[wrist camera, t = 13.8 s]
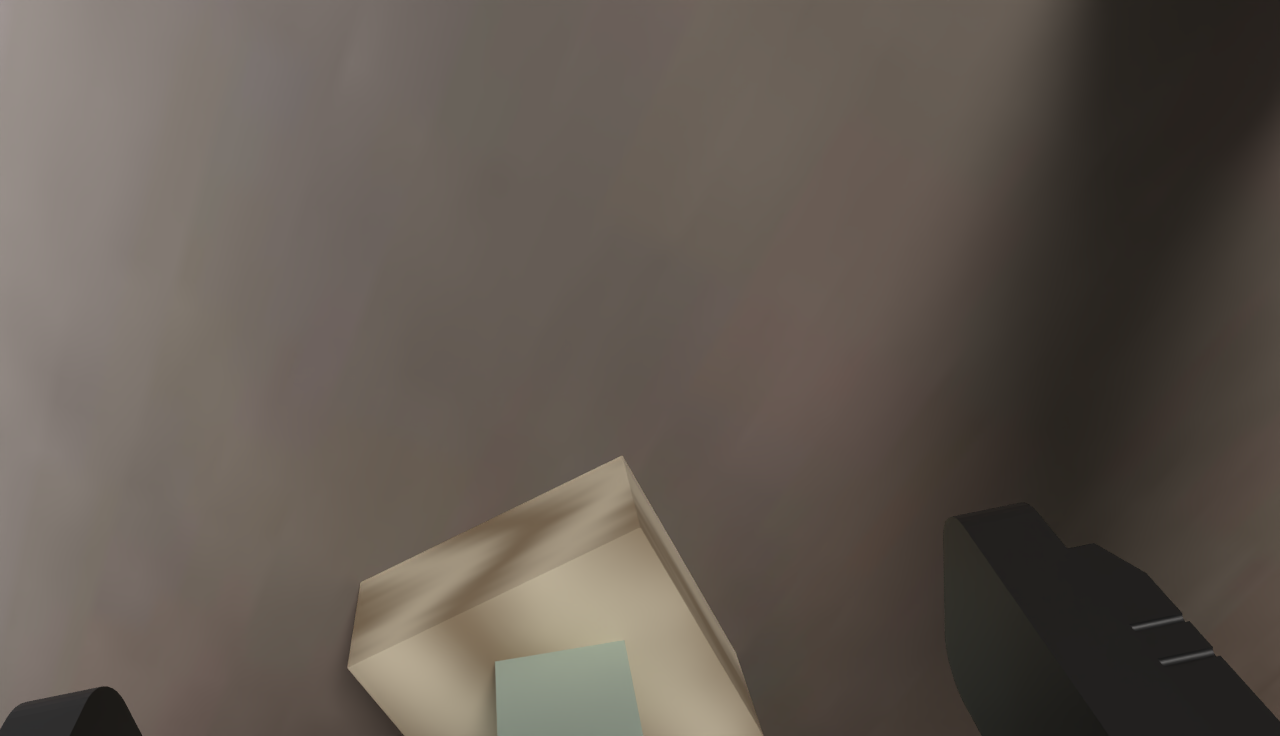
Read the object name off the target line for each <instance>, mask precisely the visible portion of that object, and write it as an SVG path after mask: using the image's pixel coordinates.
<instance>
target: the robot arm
mask: <svg viewBox="0 0 1280 736" xmlns="http://www.w3.org/2000/svg"><path fill="white" fill-rule="evenodd" d="M943 549H944V608H945V642H946V649H947V655H948V659H949V664H950V667H951V671H952V674H953V677H954V681H955V683H956V686H957V689H958V691H959V694H960V696H961V698H962V700H963V702H964V704H965V706H966V708H967V710H968V711H969V713H970V715H971V717H972V719H973V720H974V722H975V724H976V726H977V728H978V730H979V731H980V733H981V735H982V736H1280V721H1279V720H1278V719H1277V718H1276V717H1275V716H1274V715H1273V713H1272V712H1271V711H1270V710H1269V709H1268V708H1267V707H1266V706H1265V705H1264V703H1263V702H1262V701H1261V700H1260V699H1259V698H1258V697H1257V696H1256V695H1255V693H1254V692H1253V691H1252V690H1251V689H1250V688H1249V687H1248V686H1247V685H1246V684H1245V682H1244V681H1243V680H1242V679H1241V678H1240V677H1239V676H1238V675H1237V674H1236V672H1235V671H1234V670H1233V669H1232V668H1231V667H1230V666H1229V665H1228V664H1227V662H1226V661H1225V660H1224V659H1223V658H1222V657H1221V656H1217V657H1216V656H1215V654H1214V652H1213V647H1212V646H1211V645H1210V644H1209V642H1208V641H1207V640H1206V639H1205V638H1204V637H1203V636H1202V635H1201V634H1200V632H1199V631H1198V630H1197V629H1196V628H1195V627H1194V626H1193V625H1192V624H1191V622H1190V621H1188V622H1185V621H1184V619H1183V617H1182V613H1181V611H1180V610H1179V609H1178V608H1177V607H1176V606H1175V605H1174V604H1173V603H1172V601H1171V600H1170V599H1169V598H1168V597H1167V596H1166V595H1165V594H1164V593H1163V591H1162V590H1161V589H1160V588H1159V587H1158V586H1157V585H1156V584H1155V583H1154V581H1153V580H1152V579H1151V578H1150V577H1149V576H1148V575H1147V574H1146V573H1145V572H1143V571H1141V570H1140V569H1138V568H1136V567H1134V566H1133V565H1131V564H1129V563H1128V562H1126V561H1124V560H1122V559H1121V558H1119V557H1117V556H1115V555H1114V554H1112V553H1110V552H1108V551H1107V550H1105V549H1103V548H1101V547H1100V546H1098V545H1096V544H1094V543H1093V544H1088V545H1084V546H1079V547H1074V548H1069V549H1067V548H1066V547H1065V545H1064V544H1063V543H1062V542H1061V541H1060V539H1059V538H1058V537H1057V536H1056V534H1055V533H1054V532H1053V531H1052V530H1051V528H1050V527H1049V526H1048V525H1047V523H1046V522H1045V521H1044V520H1043V519H1042V517H1041V516H1040V515H1039V514H1038V513H1037V511H1036V510H1035V509H1034V508H1033V507H1031V506H1030V505H1029V504H1026V503H1017V504H1012V505H1007V506H1003V507H998V508H993V509H988V510H983V511H978V512H973V513H968V514H963V515H958V516H953V517H950V518H948V519H947V520H946V522H945V526H944V532H943ZM0 736H142V734H141V732H140V730H139V729H138V727H137V725H136V723H135V721H134V719H133V717H132V715H131V713H130V711H129V709H128V707H127V705H126V704H125V702H124V700H123V699H122V697H121V696H120V695H119V693H118V692H117V691H115V690H114V689H113V688H110V687H98V688H93V689H88V690H83V691H78V692H73V693H68V694H63V695H58V696H54V697H49V698H44V699H39V700H34V701H29V702H25V703H22V704H20V705H18V706H17V707H15V708H14V709H13V710H12V711H11V713H10V714H9V716H8V717H7V719H6V720H5V722H4V724H3V726H2V727H1V729H0Z"/></svg>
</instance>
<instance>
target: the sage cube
mask: <svg viewBox="0 0 1280 736" xmlns="http://www.w3.org/2000/svg"><path fill="white" fill-rule="evenodd" d="M495 676H496V709H497V736H643V732H642V727H641V722H640V717H639V712H638V707H637V702H636V697H635V692H634V687H633V682H632V676H631V671H630V666H629V661H628V656H627V651H626V646H625V641H624V640H622V641H616V642H610V643H604V644H598V645H592V646H586V647H580V648H574V649H568V650H562V651H556V652H550V653H544V654H538V655H532V656H526V657H520V658H514V659H508V660H502V661H496V662H495Z"/></svg>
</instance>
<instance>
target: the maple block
mask: <svg viewBox="0 0 1280 736" xmlns="http://www.w3.org/2000/svg"><path fill="white" fill-rule="evenodd" d="M622 640H624V641H625V646H626V651H627V656H628V661H629V666H630V671H631V676H632V682H633V687H634V692H635V697H636V702H637V707H638V712H639V717H640V722H641V727H642V732H643V736H763V733H762V730H761V727H760V724H759V721H758V718H757V715H756V712H755V709H754V706H753V703H752V700H751V697H750V694H749V691H748V688H747V685H746V682H745V679H744V676H743V673H742V670H741V667H740V664H739V661H738V658H737V655H736V652H735V651H734V649H733V647H732V645H731V644H730V642H729V640H728V638H727V637H726V635H725V633H724V632H723V630H722V628H721V626H720V625H719V623H718V621H717V619H716V618H715V616H714V614H713V612H712V611H711V609H710V607H709V605H708V604H707V602H706V600H705V599H704V597H703V595H702V593H701V592H700V590H699V588H698V586H697V585H696V583H695V581H694V579H693V578H692V576H691V574H690V572H689V571H688V569H687V567H686V566H685V564H684V562H683V560H682V559H681V557H680V555H679V553H678V552H677V550H676V548H675V546H674V545H673V543H672V541H671V539H670V538H669V536H668V534H667V533H666V531H665V529H664V527H663V526H662V524H661V522H660V520H659V519H658V517H657V515H656V513H655V512H654V510H653V508H652V506H651V505H650V503H649V501H648V499H647V498H646V496H645V494H644V493H643V491H642V489H641V487H640V486H639V484H638V482H637V480H636V479H635V477H634V475H633V473H632V472H631V470H630V468H629V466H628V465H627V463H626V461H625V460H624V458H623V456H620V457H618V458H616V459H614V460H612V461H610V462H608V463H606V464H604V465H602V466H600V467H598V468H595V469H593V470H591V471H589V472H587V473H585V474H583V475H581V476H579V477H577V478H575V479H573V480H571V481H569V482H567V483H565V484H563V485H560V486H558V487H556V488H554V489H552V490H550V491H548V492H546V493H544V494H542V495H540V496H538V497H536V498H534V499H532V500H530V501H528V502H525V503H523V504H521V505H519V506H517V507H515V508H513V509H511V510H509V511H507V512H505V513H503V514H501V515H499V516H497V517H495V518H493V519H490V520H488V521H486V522H484V523H482V524H480V525H478V526H476V527H474V528H472V529H470V530H468V531H466V532H464V533H462V534H460V535H458V536H455V537H453V538H451V539H449V540H447V541H445V542H443V543H441V544H439V545H437V546H435V547H433V548H431V549H429V550H427V551H425V552H423V553H420V554H418V555H416V556H414V557H412V558H410V559H408V560H406V561H404V562H402V563H400V564H398V565H396V566H394V567H392V568H390V569H388V570H385V571H383V572H381V573H379V574H377V575H375V576H373V577H371V578H369V579H367V580H365V581H363V582H361V583H360V589H359V596H358V602H357V609H356V615H355V621H354V628H353V634H352V641H351V647H350V654H349V660H348V667H347V668H348V669H349V670H350V672H351V673H352V674H353V675H354V676H355V678H356V679H357V680H358V681H359V682H360V684H361V685H362V686H363V687H364V688H365V689H366V691H367V692H368V693H369V694H370V695H371V697H372V698H373V699H374V700H375V701H376V703H377V704H378V705H379V706H380V707H381V709H382V710H383V711H384V712H385V713H386V714H387V716H388V717H389V718H390V719H391V720H392V722H393V723H394V724H395V725H396V726H397V728H398V729H399V730H400V731H401V732H402V734H403V735H404V736H497V709H496V676H495V662H496V661H502V660H508V659H514V658H520V657H526V656H532V655H538V654H544V653H550V652H556V651H562V650H568V649H574V648H580V647H586V646H592V645H598V644H604V643H610V642H616V641H622Z"/></svg>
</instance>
